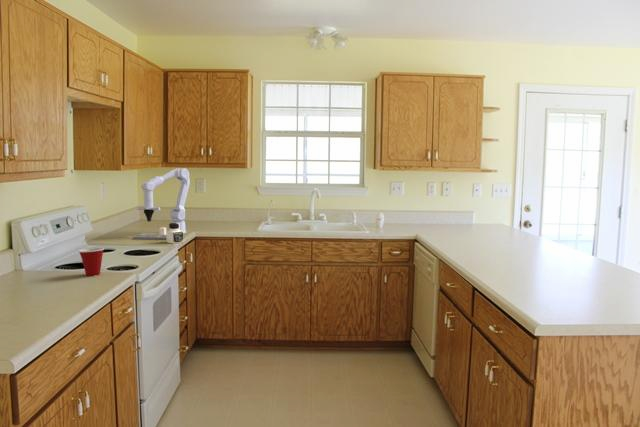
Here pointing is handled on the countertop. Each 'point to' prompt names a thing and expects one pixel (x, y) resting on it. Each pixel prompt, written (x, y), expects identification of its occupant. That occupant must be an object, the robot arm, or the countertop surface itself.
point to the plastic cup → (92, 260)
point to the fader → (163, 231)
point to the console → (150, 236)
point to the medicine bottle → (174, 234)
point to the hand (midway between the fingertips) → (149, 221)
